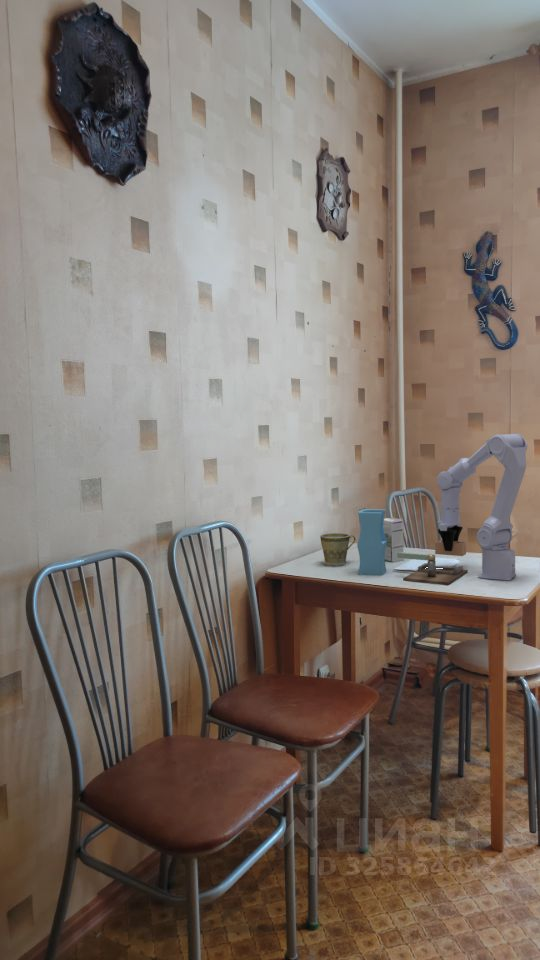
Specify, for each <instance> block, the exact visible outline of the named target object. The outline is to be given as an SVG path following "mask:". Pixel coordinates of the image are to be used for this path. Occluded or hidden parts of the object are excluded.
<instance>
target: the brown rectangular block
mask: <svg viewBox="0 0 540 960" xmlns="http://www.w3.org/2000/svg"><path fill="white" fill-rule="evenodd" d="M434 555H441V556H442V555H443V556H452V557H453V556H454V557H455V556H456V557H464V556H466V555H467V542H466V541H459V540H458V541H453V548H452V551H445V549H444V545H443V541H442V539H439V540H436V541H434Z"/></svg>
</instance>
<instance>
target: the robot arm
mask: <svg viewBox="0 0 540 960" xmlns="http://www.w3.org/2000/svg"><path fill="white" fill-rule="evenodd" d="M528 446H529V445H528V443H527V441H526V439H525V437H524V436H523V435H522V434H521V433H517V432H515V433H509V434H507V433H506V434H498V433H497V434H494V435H493V436H491V438H488V439H487V440H486V442H485V443H484V444H483V445H482V446H481V447H480V448H479V449H478V450H476V452H474V453H473V454H472V455H471V456H470V457H469V458H468V457H462V458H459V459H457V463H455V464H454V465H453V466H450V467H449V468H448V470H447V471H441V472H440V473H439V474H438V475H437V477H436V483H437V486H438V487H439V489H440V511H441V513H440V518H441V519H440V520H438V521H437V524H439V528H438V530H437V533H438V534H439V536H440V538H441V540H442V541H443V545H444V549H445V551H452V548H453V541H459V537H460V535H461V532H462V530H463V529H464V528H463V526H461V519H460V493H461V489H462V487H463V485H464V482H465V481H466V480H467V479H469V478H470V477H471V476H472V475H473V474H475V473H476V472H477V467H478V466H480V465H481V464H482V463H484V462H485V461H487V460H488V459H490V458H492V457H493V456H494V457H495V458H496V459H497V461H498V462H500V464H501V465H503V467H504V471H503V474H502V478H501V481H500V484H499V487H498V491H497V494H496V497H495V500H494V504H493V507H492V510H491V513H490V515H489V517H488V518H486V519H485V520H484V522H483V523H482V525H481V527H480V529H478V531H477V532H476V541H477V543H478V545H479V546H480V549H481V558H482V559H481V564H482V565H481V567H482V569H481V571H482V572H481V573H480V574H479V575H478V576H477V578H479V579H490V580H499V581H500V580H501V581H511V580H512V579H513V578H515V577H516V575H517V574H516V553H515V550H514V549H510V548H508V547H509V544H510V543H511V541H512V540H513V539H512V538H513V528H514V527H513V526H514V525H513V524H512V523H511V521H510V519H511V515H512V512H513V509H514V505H515V504H516V503H515V502H516V500H517V497H518V494H519V491H520V487H521V485H522V483H523V478H524V475H525V472H526V468H527V457H526V453H527V452H526V451H527V450H528V448H529V447H528Z"/></svg>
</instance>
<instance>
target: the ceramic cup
mask: <svg viewBox="0 0 540 960" xmlns="http://www.w3.org/2000/svg"><path fill="white" fill-rule="evenodd" d="M319 537H320V543H321V547H322V553H323V556H324V562H325V565H326V566H328V567H329V566H330V567H340V566H344V565H346V563H347V555H348V550H350V548H351V546H352V545H354V544H355V542H356V536H355V535H353V534H348V533H343V532H341V533H340V532H329V533H328V532H327V533H322V534H320V535H319ZM351 538H353V542H352V543H351V544H350V539H351Z"/></svg>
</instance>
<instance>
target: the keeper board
mask: <svg viewBox="0 0 540 960" xmlns="http://www.w3.org/2000/svg"><path fill="white" fill-rule="evenodd" d="M426 567H428V568H426ZM425 568H426V569H425ZM436 568H443V569H436ZM468 572H469V571H468V569H464V566H463V565H462V566H461V565H459V566H458V567H451V566H441V565H439V566H438V565H437V564H436V560H435V561H428V560H427V562H425V563H422V564H421V565H419V566H417V570H416V571H414V572H412V573H410V574H408V575H406V576H404V577H403V578H402V580H403V581H404V582H412V583H423V584H424V583H425V584H433V585H444V586H449V585H451V584H452V583H454V582H456V581H457V580H458V579H460V578H462V577H463V576H465V575H466V574H468Z"/></svg>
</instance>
